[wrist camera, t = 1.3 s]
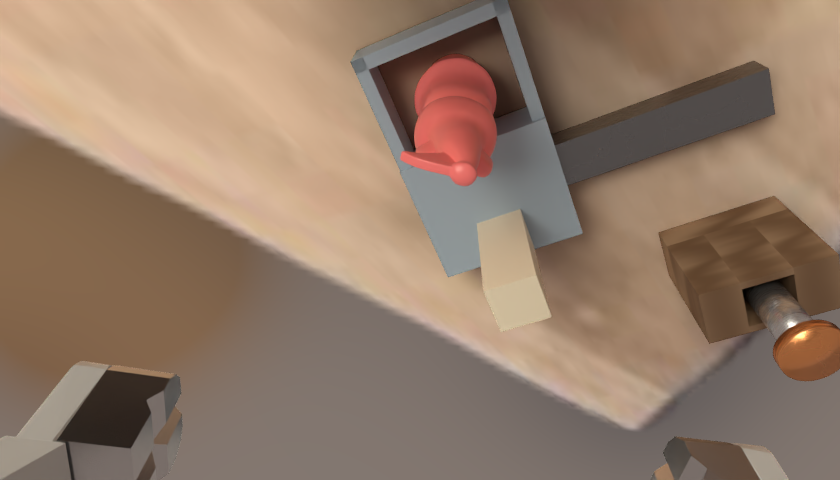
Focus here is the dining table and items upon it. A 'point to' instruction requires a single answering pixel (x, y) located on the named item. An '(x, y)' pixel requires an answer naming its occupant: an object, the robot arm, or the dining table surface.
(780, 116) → the dining table surface
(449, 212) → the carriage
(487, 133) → the figurine
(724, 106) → the rail
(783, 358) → the button
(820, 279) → the box
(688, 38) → the dining table surface
